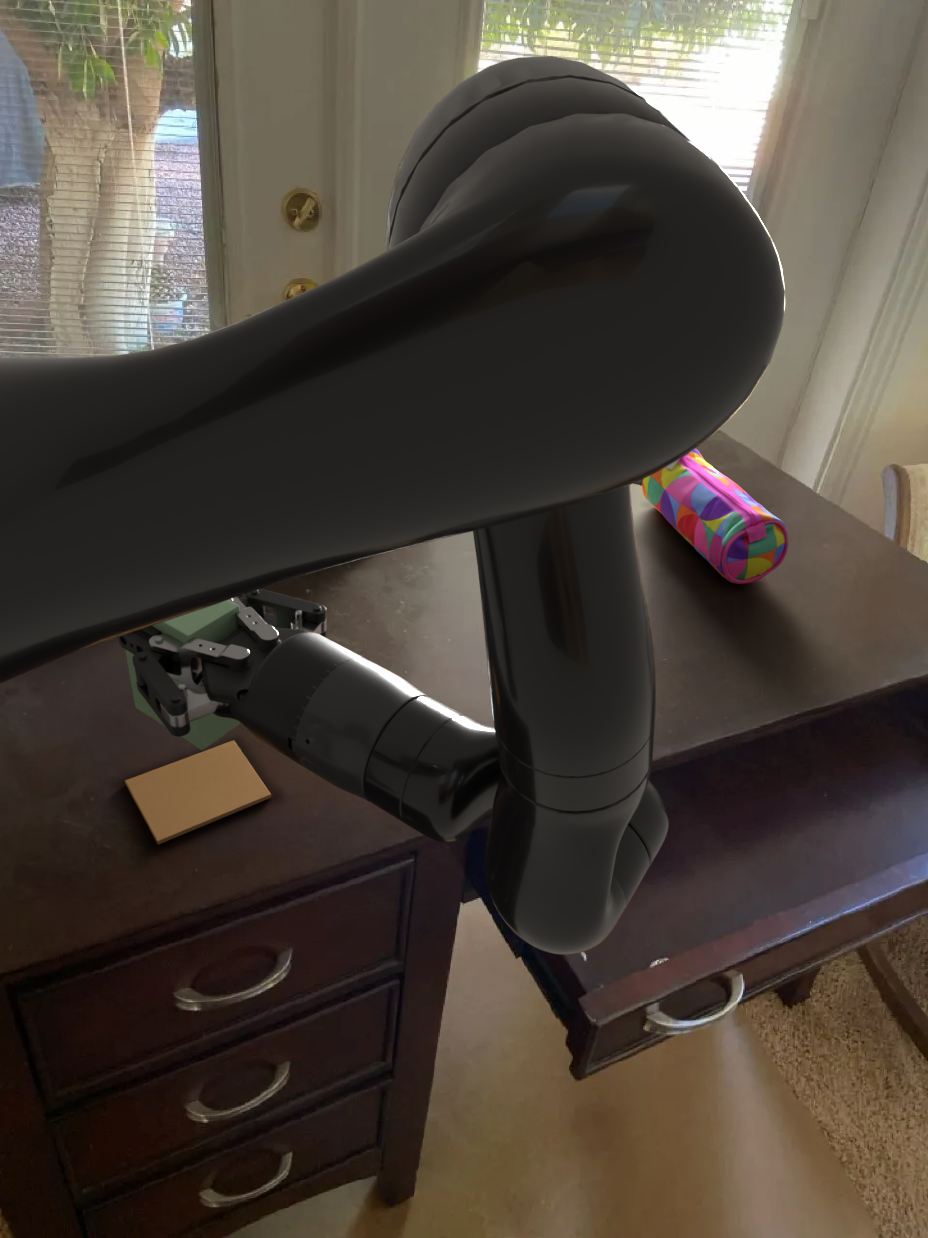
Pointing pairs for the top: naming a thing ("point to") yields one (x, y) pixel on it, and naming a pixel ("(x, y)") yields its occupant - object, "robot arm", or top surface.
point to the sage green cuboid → (210, 627)
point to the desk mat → (196, 791)
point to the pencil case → (718, 518)
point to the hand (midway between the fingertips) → (153, 609)
